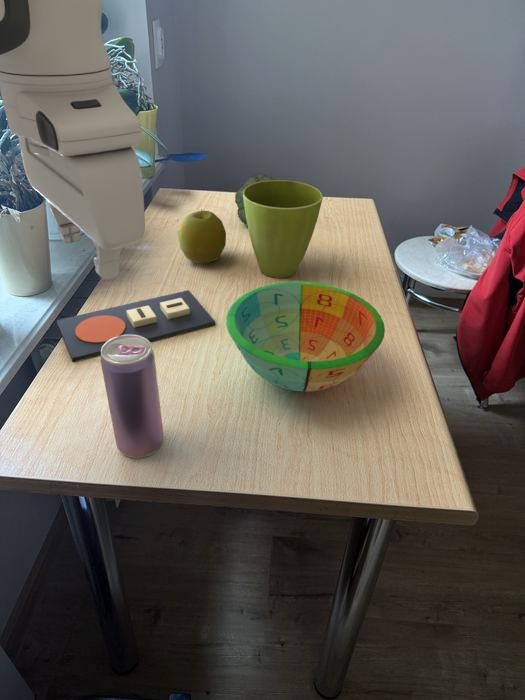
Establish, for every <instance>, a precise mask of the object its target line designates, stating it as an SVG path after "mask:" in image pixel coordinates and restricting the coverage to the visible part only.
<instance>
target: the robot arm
mask: <svg viewBox="0 0 525 700" xmlns="http://www.w3.org/2000/svg"><path fill="white" fill-rule="evenodd" d="M103 8H104V1H103V0H0V95H1V99H2V104H3V109H4V112H5V117H6V121H7V126H8V129H9V131H10V132H11V134H13V135H14V136H17V137H18V142H19V148H20V152H21V158H22V164H23V168H24V172H25V175H26V178H27V180H28V183H29V185H30V187H32V188H33V189H34V190H35V191H36V192H38V194H40V196H42V197H43V198H44V199H46V200H47V205H48V208H49V211H50V212H51V214H52V216H53V219H54V221H55V223H56V227H57V232H58V237H59V238H60V239H61V240H62V241H63V242H64V243H66V244H72V243H77V242H80V241H81V238H82V235H81V232H82V233H84V234H85V235H86V236H87V237H88V238H89V239H90V240H91V241H92V244H93V246H94V247H95V249H96V250H95V251H96V256H95V257H93V259H92V260H93V263H94V270H95V272H96V274H97V275H98V276H99V278H101V279H102V280H104V281H108V280H113V279H117V278H118V277H119V276H120V274H121V271H120V265H119V264H120V263H119V259H120V256H121V252H122V249H123V248H126V247H130V246H134V245H136V244H139V243H140V242H141V240H142V239H143V236H144V234H145V231H146V219H145V218H146V214H145V200H144V199H145V198H144V186H143V175H142V169H141V163H140V160H139V157H138V154H137V152H136V150H135V149H134V148H133V147H138V146H140V145H142V142H143V133H142V125H141V121H140V119H139V117H138V116H137V115H136V113H135V112H134V111H133V110H132V109H131V108H130V106H129V105H128V104H127V103H126V102H125V100H124V99H123V97H122V95H121V94H120V91H119V89H118V87H117V86H116V85H115V84H114V81H113V80H114V79H113V72H112V63H111V60H110V57H109V54H108V51H107V49H106V46H105V43H104V39H103V33H102V17H103V16H102V15H103Z"/></svg>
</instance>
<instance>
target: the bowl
mask: <svg viewBox="0 0 525 700" xmlns="http://www.w3.org/2000/svg"><path fill="white" fill-rule="evenodd" d="M225 320H226V321H225V325H226V329H227V331H228V334H229V336H230V337H231V339H232V340H233V342H234V344H235V346H236V348H237V350H239V352H240V354H241V355H242V357H243V359H244V360H245V362H246V363H247V364H248V365H249V367H250V368H251V369H252V370H253V371H254V372H255V373H256V374H257V375H259V376H260V377H261V378H263V379H264V380H265V381H266V382H269V383H270V384H272V385H274V386H277V387H279V388H282V389H286V390H288V391H289V390H290V391H294V392H317V391H322V390H326V389H331V388H332V387H335V386H337V385H339V384H341V383H342V382H344V381H346V380H348V379H349V378H351V376H353V375H354V374H356V372H358V371H359V369H361V368H362V366H363V365H364V363H366V361H368V360H369V359H370V358H371V356H372V355H373V354H374V353H375V352H376V351H377V349H378V348H379V347H380V346H381V345H382V343H383V340H384V338H385V333H386V328H385V322H384V320H383V318H382V315H381V314H380V313H379V312H378V310H377V309H376V308H375V307H374V306H373V305H372V304H371V303H369V302H368V301H366V300H365V299H364V298H362V297H360V296H358V295H356V294H354V293H352V292H350V291H348V290H345V289H343V288H340V287H336V286H333V285H328V284H324V283H317V282H310V281H309V282H307V281H286V282H277V283H271V284H266V285H263V286H259V287H257V288H253V289H251V290H250V291H247V292H246V293H244V294H242V295H241V296H240V297H238V298H237V299H235V301H234V302H233V303H232V304H231V305H230V307H229V309H228V310H227V313H226V317H225Z"/></svg>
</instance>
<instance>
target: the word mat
mask: <svg viewBox="0 0 525 700" xmlns="http://www.w3.org/2000/svg"><path fill="white" fill-rule="evenodd" d="M55 323H56V326H57V328H58V330H59V333H60V335H61V338H62V340H63V343H64V345H65V348H66V350H67V353H68V355H69V357H70V361H71V362H72V363H75V362H78V361H83V360H87V359H90V358H94V357H99V356H101V349H102V347H103V345H104V344H105V343H106V342H107V341H109V340H111V339H113V338H115V337H118V336H122V335H138V336H142V337H144V338H146V339H147V340H149V341H150V343H151V342H155V341H160V340H163V339H167V338H170V337H174V336H178V335H179V336H180V335H182V334H183V335H184V334H187V333H190V332H194V331H198V330H202V329H205V328H209V327H212V326H216V321H215V319H214V318H213V317H212V315H211V314H210V313H209V312H208V311H207V310H206V308H205V307H204V306H203V305H202V304H201V303H200V302H199V300H198V299H197V298H196V297H195V295H194V294H193V293H192V292H191V291H190V290H189V289H187V290H183V291H179V292H174V293H170V294H165V295H162V296H157V297H152V298H147V299H143V300H140V301H134V302H131V303H125V304H121V305H118V306H113V307H112V306H111V307H108V308H104V309H100V310H95V311H91V312H86V313H82V314H78V315H75V316H74V315H73V316H69V317H65V318H61V319H56V320H55Z"/></svg>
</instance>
